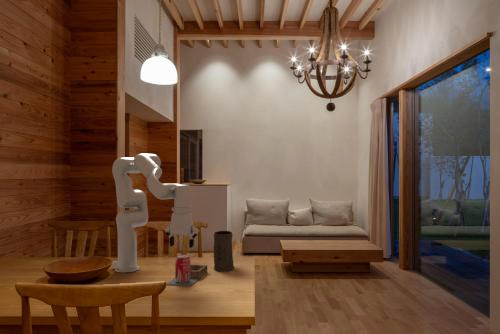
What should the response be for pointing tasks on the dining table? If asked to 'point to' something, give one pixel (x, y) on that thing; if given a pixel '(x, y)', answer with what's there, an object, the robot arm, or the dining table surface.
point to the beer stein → (223, 251)
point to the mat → (188, 284)
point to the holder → (198, 271)
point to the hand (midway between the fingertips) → (181, 246)
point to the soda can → (182, 268)
